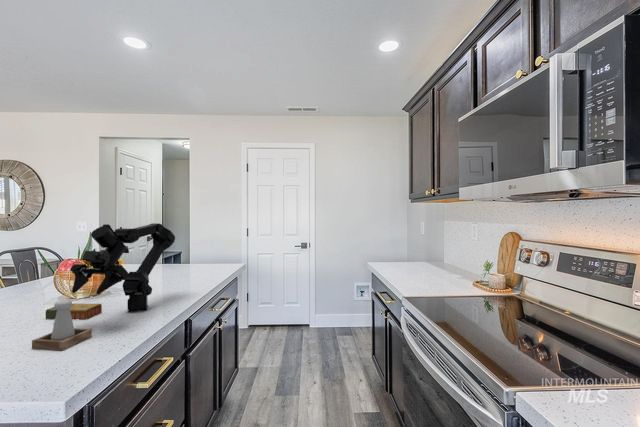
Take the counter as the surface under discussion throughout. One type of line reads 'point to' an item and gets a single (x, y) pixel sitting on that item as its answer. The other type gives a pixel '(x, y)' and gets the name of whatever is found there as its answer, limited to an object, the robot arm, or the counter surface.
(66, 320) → the salt shaker
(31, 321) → the counter surface
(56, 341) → the walnut frame
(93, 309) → the carton
